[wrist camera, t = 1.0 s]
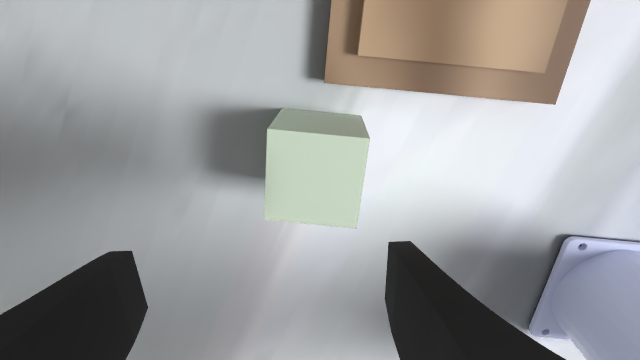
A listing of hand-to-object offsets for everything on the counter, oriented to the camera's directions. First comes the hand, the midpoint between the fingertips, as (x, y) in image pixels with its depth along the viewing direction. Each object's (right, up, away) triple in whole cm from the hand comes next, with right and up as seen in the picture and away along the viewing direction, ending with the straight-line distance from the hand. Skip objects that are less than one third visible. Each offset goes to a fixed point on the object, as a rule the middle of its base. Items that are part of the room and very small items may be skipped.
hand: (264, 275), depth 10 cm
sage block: (+1, +5, +11) cm, 12 cm away
